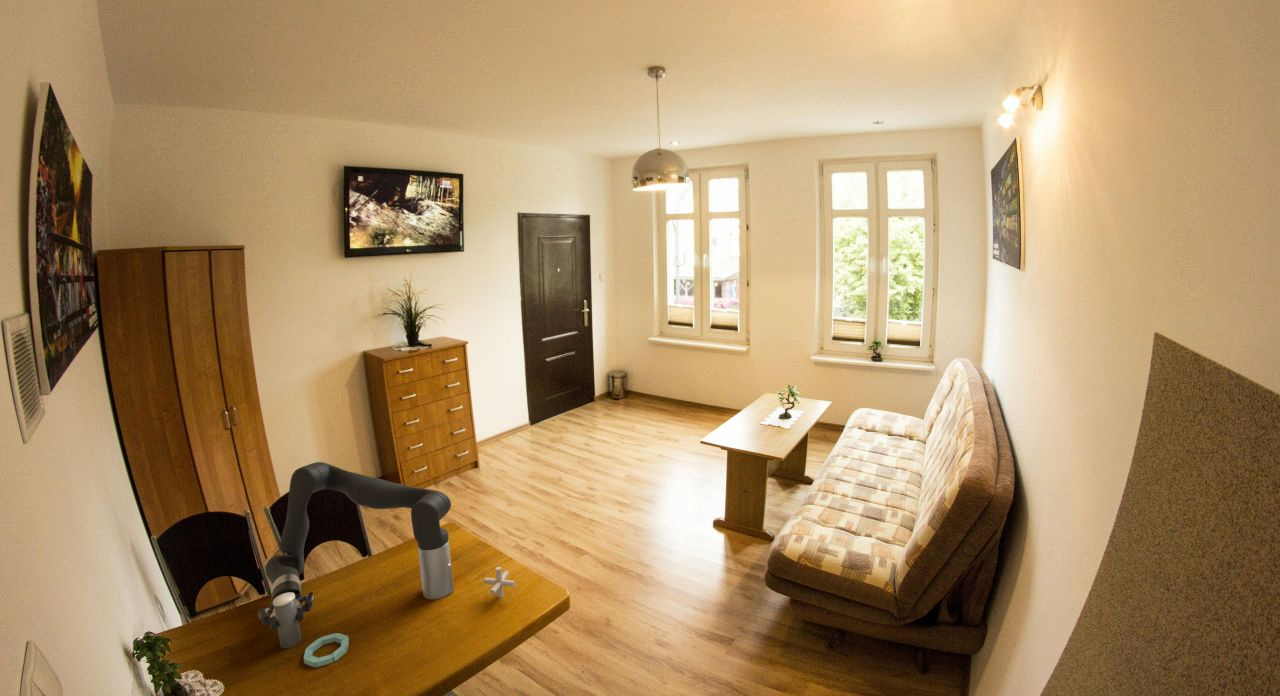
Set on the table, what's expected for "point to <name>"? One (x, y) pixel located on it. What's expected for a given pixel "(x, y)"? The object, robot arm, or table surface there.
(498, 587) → the pipe connector
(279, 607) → the cap cylinder
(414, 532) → the robot arm
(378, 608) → the table surface
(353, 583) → the table surface
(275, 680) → the table surface
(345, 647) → the barrel ring
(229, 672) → the table surface
